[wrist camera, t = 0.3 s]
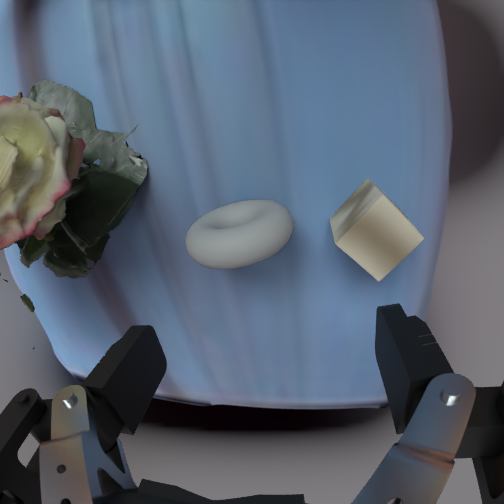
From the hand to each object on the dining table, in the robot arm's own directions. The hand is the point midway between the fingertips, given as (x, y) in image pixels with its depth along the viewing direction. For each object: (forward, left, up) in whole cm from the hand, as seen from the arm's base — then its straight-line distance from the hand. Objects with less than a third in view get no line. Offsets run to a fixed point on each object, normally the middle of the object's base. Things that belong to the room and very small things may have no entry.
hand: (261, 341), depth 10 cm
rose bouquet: (+17, -25, -22) cm, 38 cm away
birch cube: (-3, +9, -22) cm, 24 cm away
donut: (+5, -1, -22) cm, 23 cm away
